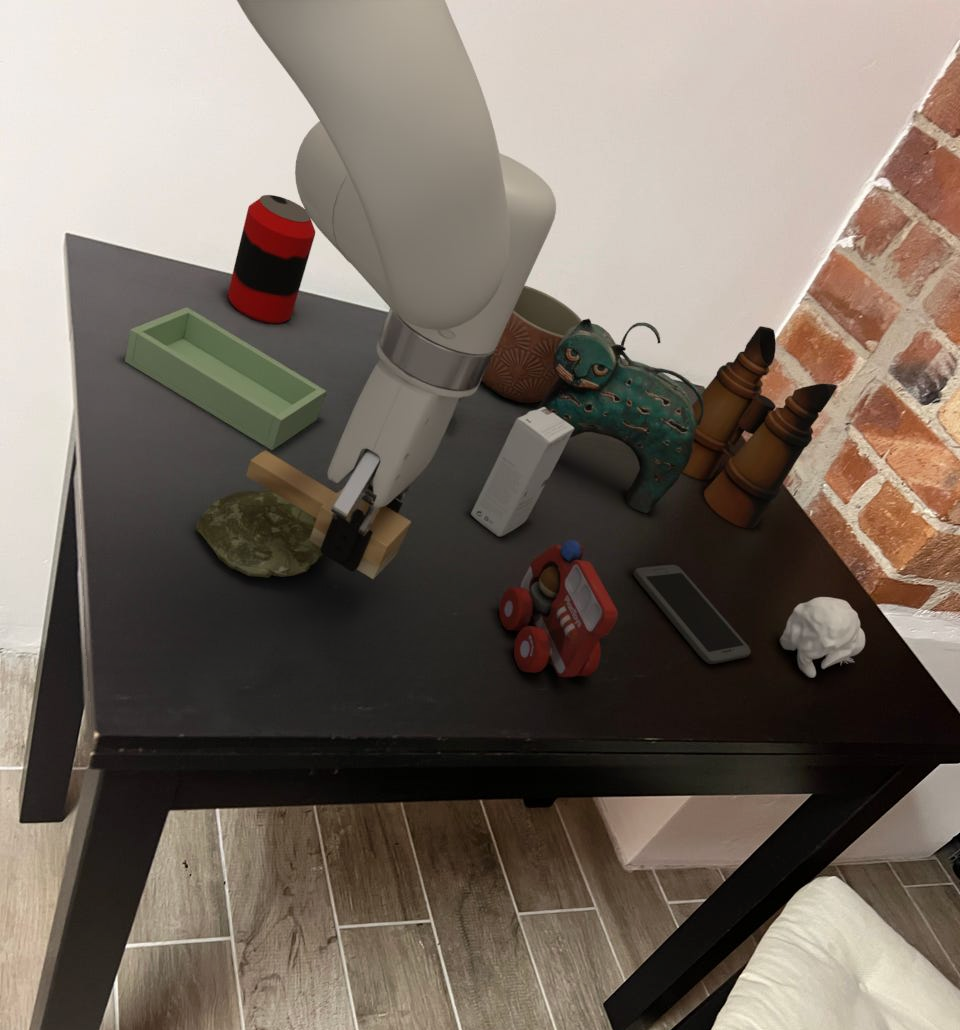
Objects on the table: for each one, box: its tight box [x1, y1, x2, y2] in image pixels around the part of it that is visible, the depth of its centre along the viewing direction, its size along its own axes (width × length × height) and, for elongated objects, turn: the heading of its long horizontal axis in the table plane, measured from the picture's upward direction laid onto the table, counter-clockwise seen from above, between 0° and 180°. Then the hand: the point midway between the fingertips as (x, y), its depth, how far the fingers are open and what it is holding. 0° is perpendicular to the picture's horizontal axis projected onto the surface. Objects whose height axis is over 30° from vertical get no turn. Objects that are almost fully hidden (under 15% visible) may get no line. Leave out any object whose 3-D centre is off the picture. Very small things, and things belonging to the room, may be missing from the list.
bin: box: [124, 306, 327, 451], centre depth 91 cm, size 17×9×4 cm, turn 68°
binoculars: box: [682, 325, 838, 529], centre depth 118 cm, size 18×8×20 cm, turn 31°
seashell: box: [195, 489, 324, 579], centre depth 77 cm, size 10×7×10 cm
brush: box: [245, 449, 412, 580], centre depth 72 cm, size 13×5×4 cm, turn 68°
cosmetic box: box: [470, 407, 574, 538], centre depth 93 cm, size 6×4×12 cm
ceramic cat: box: [537, 318, 704, 514], centre depth 104 cm, size 20×6×20 cm, turn 81°
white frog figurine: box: [779, 596, 866, 679], centre depth 100 cm, size 6×8×12 cm
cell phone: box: [632, 564, 752, 665], centre depth 98 cm, size 7×14×1 cm, turn 32°
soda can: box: [227, 194, 316, 324], centre depth 104 cm, size 8×8×12 cm
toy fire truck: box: [498, 539, 619, 678], centre depth 81 cm, size 7×12×10 cm, turn 16°
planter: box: [481, 285, 583, 404], centre depth 117 cm, size 12×12×11 cm
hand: (354, 544), depth 73 cm, fingers closed on brush, 4 cm apart
